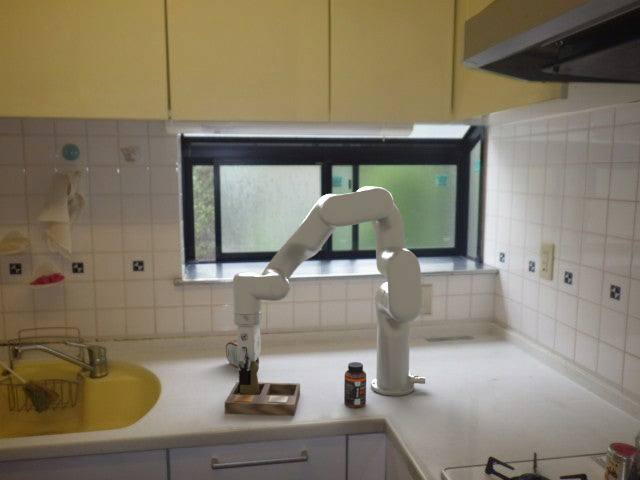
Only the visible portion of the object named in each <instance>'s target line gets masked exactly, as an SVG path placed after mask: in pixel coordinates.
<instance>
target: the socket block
mask: <svg viewBox="0 0 640 480" xmlns="http://www.w3.org/2000/svg"><path fill="white" fill-rule="evenodd" d="M258 384H259V391H260V395H242V394H240V387H241V385H240V384H239V381H236V383H235V384H234V386H233V388H232V389H231V391H230V393H229V395H228V396H227V398H226V400H225V401H224V414H225V415H226V414H227V415H228V414H231V415H233V414H234V415H259V416H260V415H263V416H293V417H294V416H295V414H296V411H297V406H298V403H299V400H300V395H301V383H298V382H297V383H295V382H293V383H291V382H290V383H289V382H259V381H258Z"/></svg>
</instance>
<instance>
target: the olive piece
mask: <svg viewBox="0 0 640 480" xmlns="http://www.w3.org/2000/svg"><path fill="white" fill-rule="evenodd" d="M246 364H247V365H248V363H246ZM259 366H260V365H258V363H257V362H256V361H255V362H253V361H251V363H250V370H251V385H241V387H240V393H239V394H242V395H260V391H259V384H258V382H259V378H258V371H259V369H260V367H259Z"/></svg>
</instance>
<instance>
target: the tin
mask: <svg viewBox="0 0 640 480" xmlns="http://www.w3.org/2000/svg"><path fill="white" fill-rule="evenodd" d="M225 354H226V355H225V356H226V359H227V361H228V362H229V364H230V365H231V366H233V367H236V368H237V369H239V364H240V362H239V361H238V357H237V339H234V340H232V341H230V342H229V341H228V342H227V344H226V345H225ZM245 359H246V358H245ZM259 364H260V359H259V356H258V365H259ZM259 366H260V365H259Z"/></svg>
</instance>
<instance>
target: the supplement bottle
mask: <svg viewBox="0 0 640 480" xmlns="http://www.w3.org/2000/svg"><path fill="white" fill-rule="evenodd" d="M343 382H344V386H343V387H344V389H343V390H344V394H343V395H344V396H343V397H344V398H343V399H344V402H343V403H344V405H346V406H347V407H349V408H352V409H358V408H359V409H360V408H364V406H366V402H367V373H366V372H365V370H364V365H363V363H361V362H358V361H353V362H349V363H348V365H347V370H346V371H345V372H344V381H343Z"/></svg>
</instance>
